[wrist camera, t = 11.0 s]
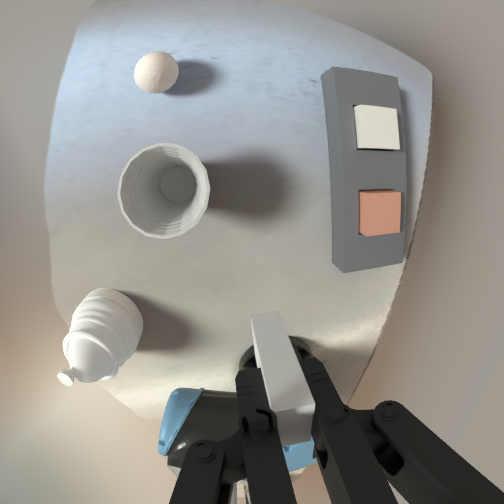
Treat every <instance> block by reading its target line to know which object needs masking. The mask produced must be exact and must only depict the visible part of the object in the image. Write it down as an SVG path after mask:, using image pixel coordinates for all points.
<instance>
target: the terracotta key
mask: <svg viewBox="0 0 504 504" xmlns="http://www.w3.org/2000/svg"><path fill="white" fill-rule="evenodd" d="M400 214H401V192H398V191H394V190H389V189H373V190H359V233H361V234H363V235H365V236H375V235H383V234H391V233H399V232H400Z"/></svg>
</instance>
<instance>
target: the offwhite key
mask: <svg viewBox="0 0 504 504" xmlns="http://www.w3.org/2000/svg"><path fill="white" fill-rule="evenodd" d="M353 112H354V121H355V132H356V145H357V148H358V149H385V150H400V144H399V131H398V120H397V111H396V109H393V108H386V107H379V106H371V105H358V106H355V107H353Z"/></svg>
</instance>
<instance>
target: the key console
mask: <svg viewBox="0 0 504 504" xmlns="http://www.w3.org/2000/svg"><path fill="white" fill-rule="evenodd" d="M321 81H322V89H323V97H324V105H325V114H326V124H327V135H328V148H329V162H330V180H331V205H332V263H333V264H334V265H335V266H336V267H338V268H339V269H340V270H341V271H342V272H343V273H348V272H353V271H359V270H365V269H371V268H376V267H382V266H387V265H393V264H398V263H402V262H403V252H404V241H405V226H406V197H407V177H406V149H405V134H404V123H403V113H402V105H401V98H400V91H399V84H398V78H397V77H394V76H389V75H384V74H379V73H374V72H368V71H362V70H355V69H348V68H340V67H331V68H330V69H329V70H327V71H326V72H325V73H323V74H322V75H321ZM358 105H371V106H379V107H386V108H393V109H396V111H397V120H398V131H399V144H400V150H385V149H358V148H357V145H356V132H355V121H354V112H353V107H355V106H358ZM373 189H389V190H394V191H398V192H401V214H400V232H399V233H391V234H383V235H375V236H365V235H363V234H361V233H359V190H373Z"/></svg>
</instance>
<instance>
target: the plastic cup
mask: <svg viewBox="0 0 504 504" xmlns="http://www.w3.org/2000/svg"><path fill="white" fill-rule="evenodd" d="M209 193H210V185H209V180H208V175H207V170H206V169H205V167H204V166H203V164H202V163H201V161H200V160H199V159H198V157H197V156H196V154H194V153H192V152H191V151H189V150H188V149H186V148H184V147H183V146H181V145H177V144H169V143H158V144H155V145H152V146H148V147H145V148H143V149H142V150H140V151H139V152H138V153H137V154H136V155H134V156H133V157H132V158H131V159H129V161H128V163H127V165H126V166H125V168H124V170H123V172H122V173H121V175H120V180H119V187H118V199H119V203H120V208H121V212H122V213H123V215H124V216H125V218H126V219H127V221H128V222H129V224H130V225H131V226H132V227H133V228H135V229H136V230H138V231H139V232H141V233H142V234H144V235H145V236H148V237H154V238H160V239H167V238H171V237H175V236H179V235H182V234H184V233H185V232H186V231H188V230H189V229H191V228H192V227H193V226H195V225H196V224H197V223H198V221H199V220H200V218H201V216H202V215H203V213H204V212H205V210H206V208H207V204H208V199H209Z"/></svg>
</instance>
